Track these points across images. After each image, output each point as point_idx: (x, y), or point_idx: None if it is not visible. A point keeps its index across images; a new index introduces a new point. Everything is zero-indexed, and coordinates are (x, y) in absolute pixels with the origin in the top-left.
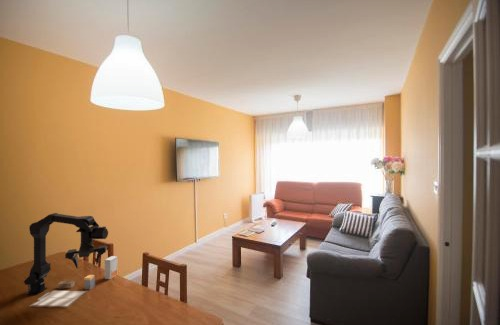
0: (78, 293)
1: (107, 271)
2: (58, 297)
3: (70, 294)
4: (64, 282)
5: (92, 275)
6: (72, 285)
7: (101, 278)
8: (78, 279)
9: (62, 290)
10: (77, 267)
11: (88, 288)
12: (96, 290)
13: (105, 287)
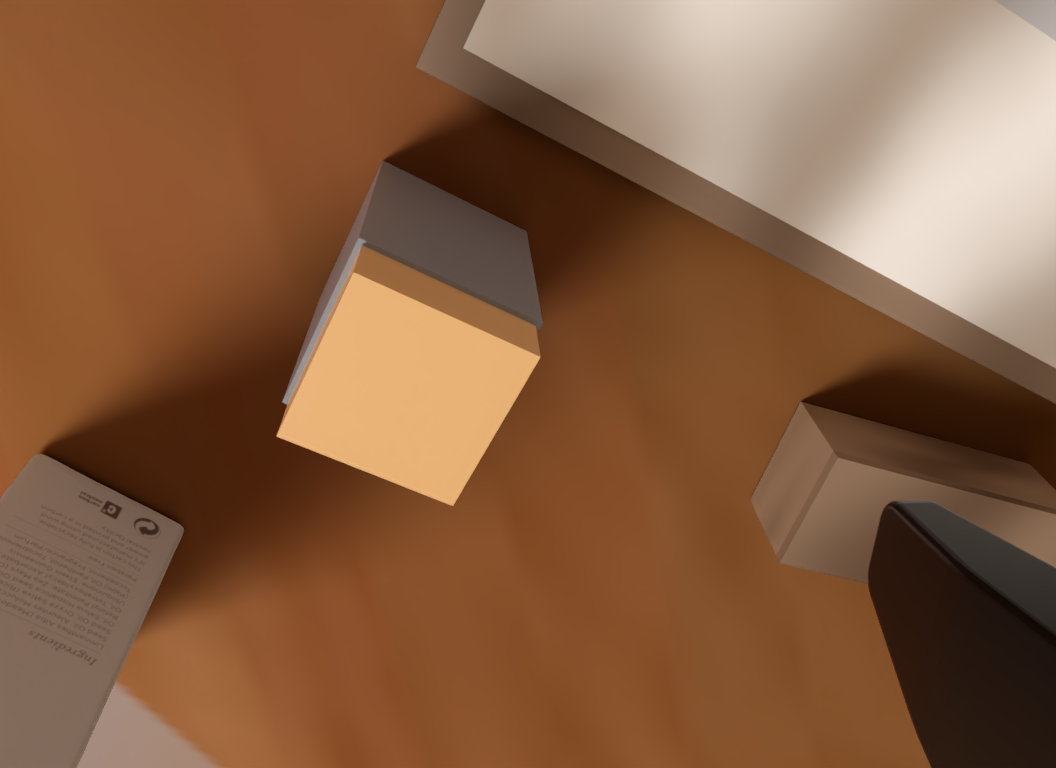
0: (616, 14)
1: (34, 613)
2: (1032, 24)
3: (791, 54)
4: None
5: (327, 421)
6: (788, 455)
7: (265, 563)
8: (705, 672)
9: (956, 340)
10: (903, 516)
11: (428, 186)
12: (209, 22)
13: (13, 88)
